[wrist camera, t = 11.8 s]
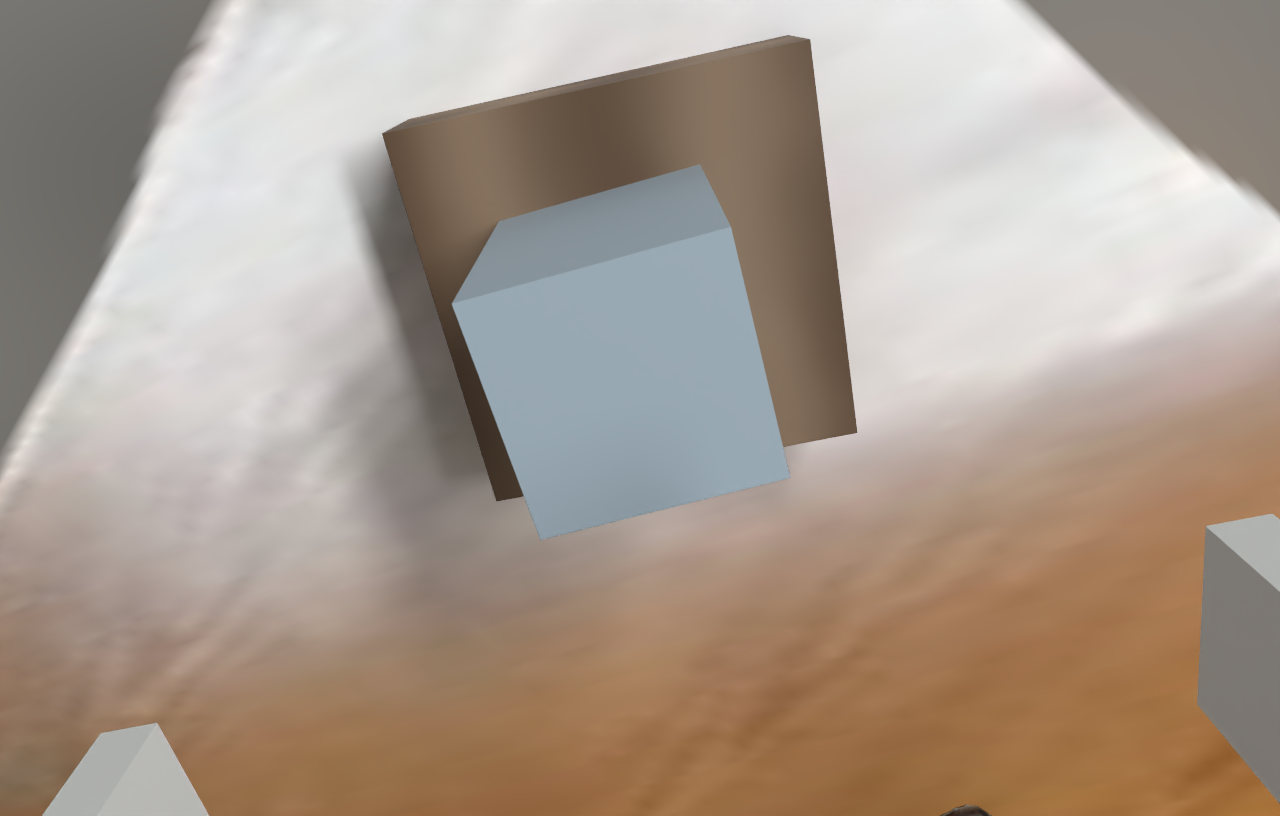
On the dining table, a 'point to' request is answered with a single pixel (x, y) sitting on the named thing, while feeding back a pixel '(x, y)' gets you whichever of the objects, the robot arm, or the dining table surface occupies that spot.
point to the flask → (967, 811)
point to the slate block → (621, 354)
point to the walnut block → (638, 150)
